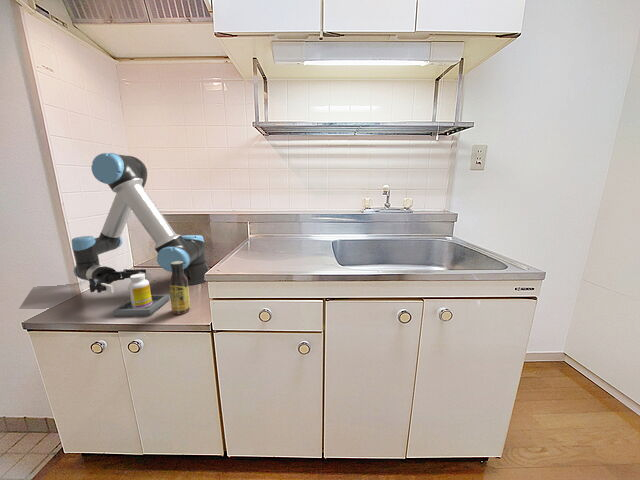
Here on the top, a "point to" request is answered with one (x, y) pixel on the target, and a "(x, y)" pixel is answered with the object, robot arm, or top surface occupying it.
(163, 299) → the tray
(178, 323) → the top surface
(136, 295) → the supplement bottle
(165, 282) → the top surface
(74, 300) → the top surface
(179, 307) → the sauce bottle
